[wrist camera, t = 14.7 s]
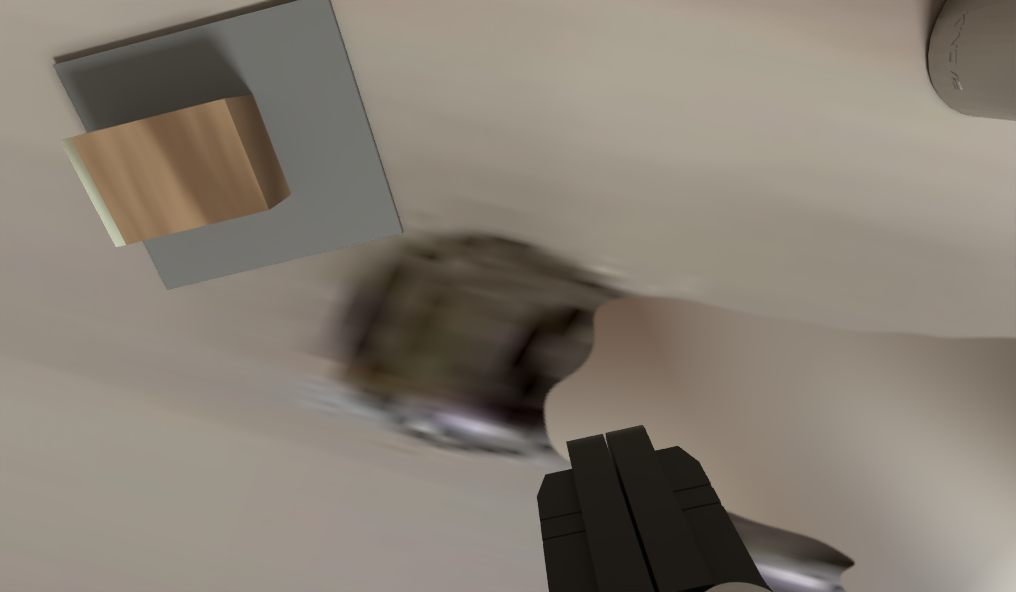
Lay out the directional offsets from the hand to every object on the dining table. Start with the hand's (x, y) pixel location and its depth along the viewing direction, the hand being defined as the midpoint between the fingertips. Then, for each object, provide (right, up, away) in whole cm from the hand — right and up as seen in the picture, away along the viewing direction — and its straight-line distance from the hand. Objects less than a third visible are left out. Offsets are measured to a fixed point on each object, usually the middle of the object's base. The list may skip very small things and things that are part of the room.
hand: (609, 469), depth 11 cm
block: (-16, +12, +21) cm, 29 cm away
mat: (-18, +12, +23) cm, 32 cm away
